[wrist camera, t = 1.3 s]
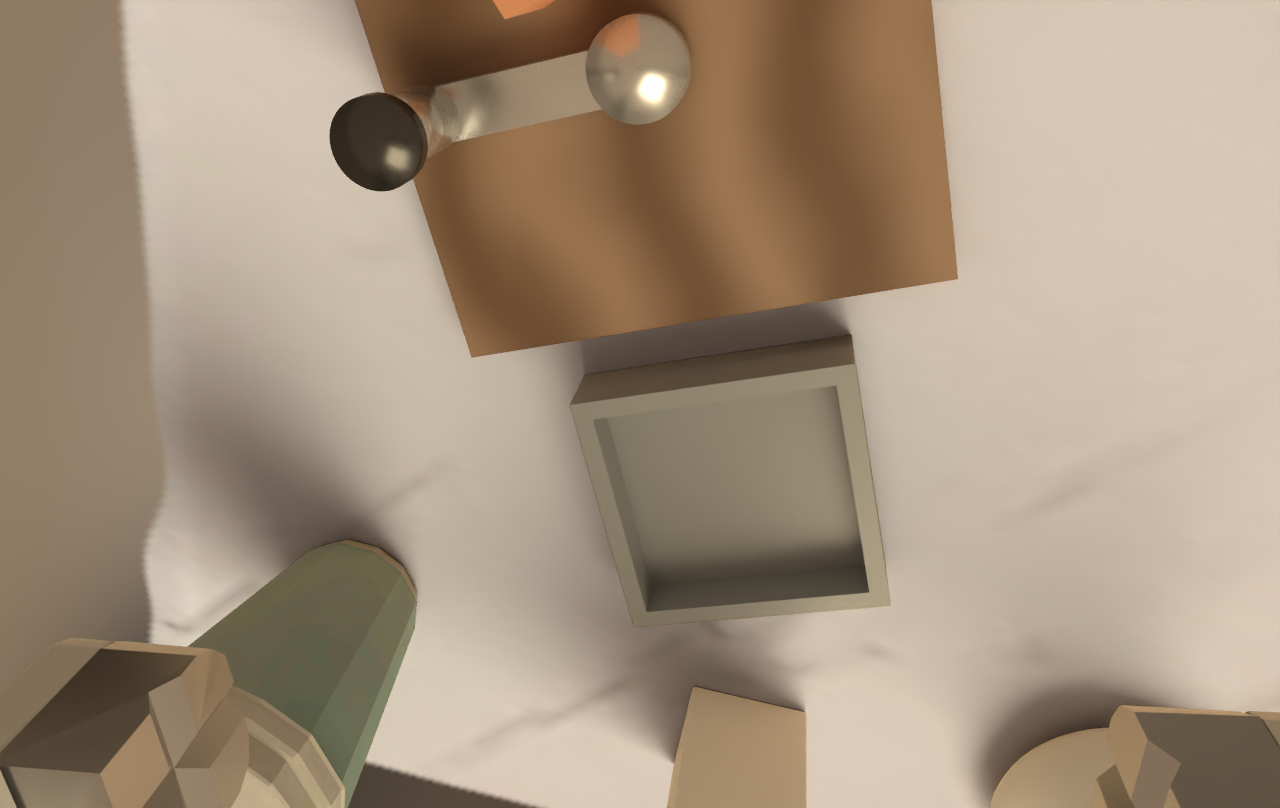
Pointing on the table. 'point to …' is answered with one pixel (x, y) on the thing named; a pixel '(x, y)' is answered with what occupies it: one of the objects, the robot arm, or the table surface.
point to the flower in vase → (1056, 773)
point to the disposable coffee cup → (315, 671)
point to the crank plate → (683, 167)
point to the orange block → (520, 6)
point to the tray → (736, 483)
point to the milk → (739, 755)
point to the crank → (515, 100)
